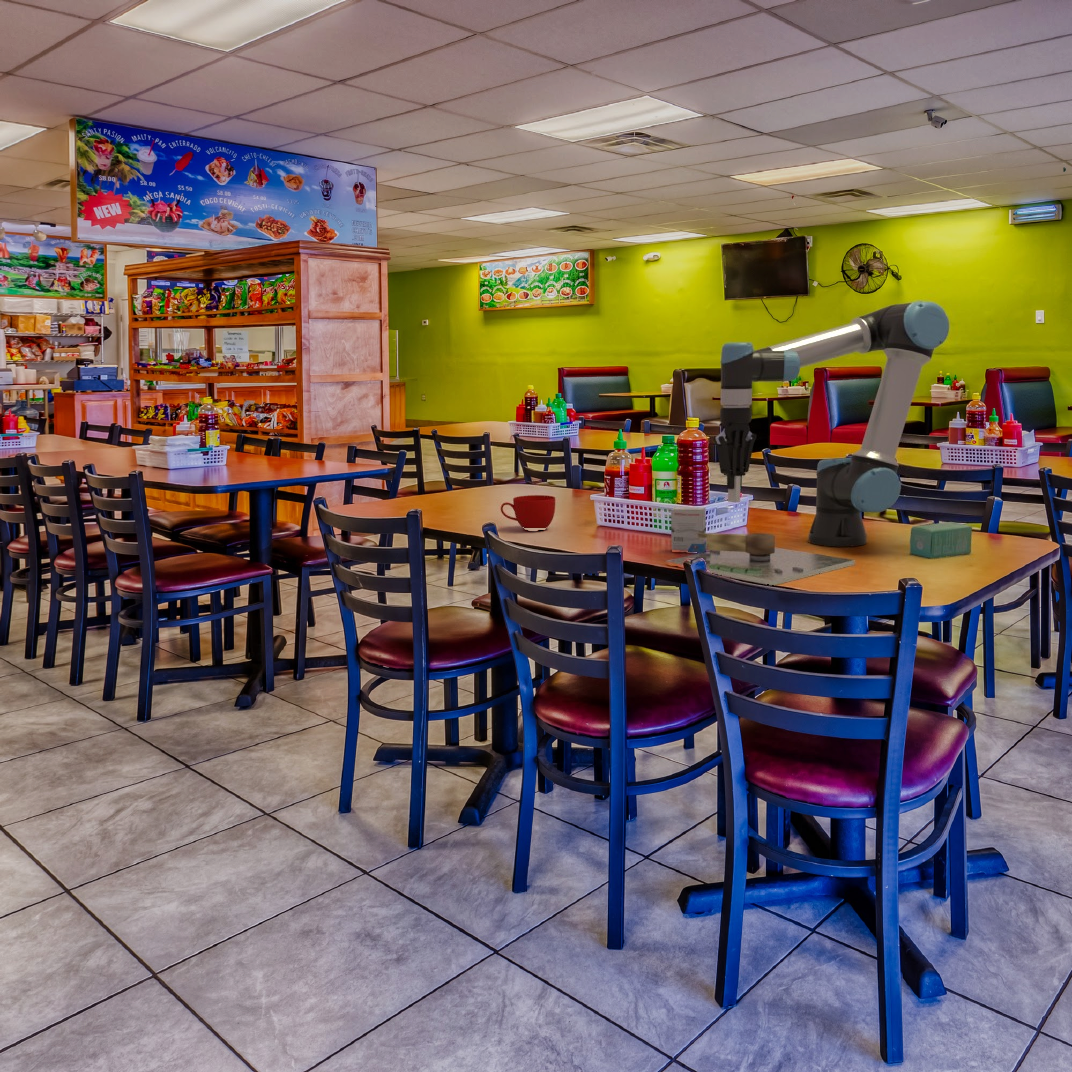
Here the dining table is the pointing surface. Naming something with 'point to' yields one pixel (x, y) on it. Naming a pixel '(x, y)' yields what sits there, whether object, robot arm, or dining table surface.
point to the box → (940, 540)
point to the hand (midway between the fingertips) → (734, 501)
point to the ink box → (688, 529)
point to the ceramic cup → (532, 510)
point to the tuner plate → (768, 565)
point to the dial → (740, 542)
